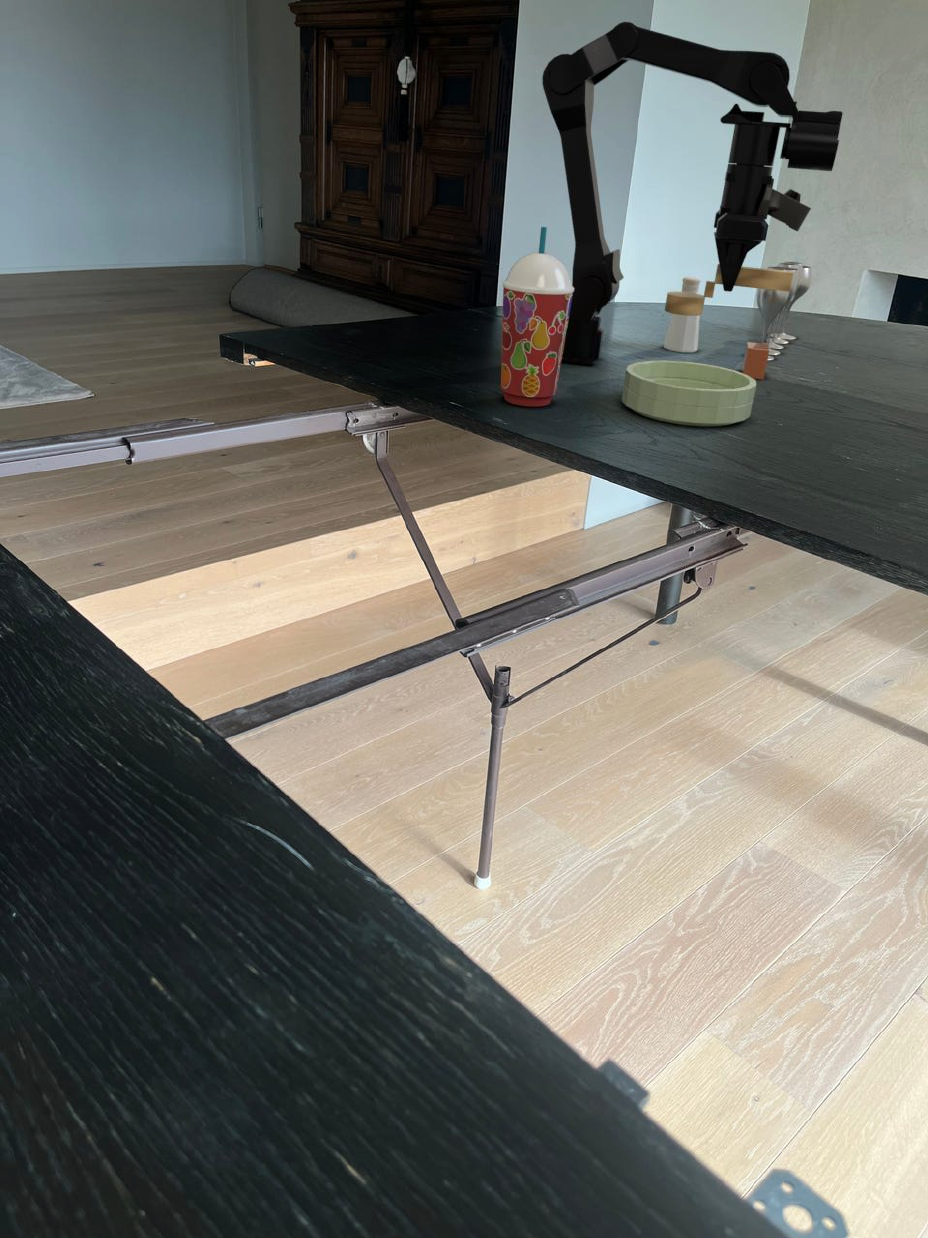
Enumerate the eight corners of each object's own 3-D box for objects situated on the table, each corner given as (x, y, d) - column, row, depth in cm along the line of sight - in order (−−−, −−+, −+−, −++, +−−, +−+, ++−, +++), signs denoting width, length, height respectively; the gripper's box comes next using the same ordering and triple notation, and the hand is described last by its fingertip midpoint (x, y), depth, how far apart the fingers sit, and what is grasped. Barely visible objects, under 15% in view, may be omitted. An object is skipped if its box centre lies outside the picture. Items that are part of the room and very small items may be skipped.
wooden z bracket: (664, 312, 133) (672, 261, 129) (665, 307, 137) (673, 257, 134) (783, 326, 130) (794, 274, 127) (780, 320, 135) (791, 269, 131)
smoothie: (568, 398, 120) (587, 228, 111) (551, 414, 113) (571, 233, 104) (504, 389, 123) (519, 221, 113) (484, 403, 115) (498, 225, 106)
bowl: (615, 418, 113) (621, 380, 111) (627, 389, 127) (632, 355, 125) (750, 435, 111) (758, 396, 109) (747, 404, 124) (754, 369, 122)
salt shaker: (682, 353, 152) (694, 280, 147) (656, 346, 155) (667, 275, 150) (704, 351, 155) (716, 279, 150) (678, 344, 158) (689, 274, 153)
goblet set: (775, 362, 150) (794, 273, 144) (738, 356, 152) (756, 269, 146) (800, 336, 173) (818, 259, 167) (768, 332, 175) (784, 255, 169)
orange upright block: (742, 377, 139) (748, 347, 137) (741, 370, 143) (747, 341, 141) (763, 379, 138) (769, 350, 136) (762, 372, 143) (768, 344, 141)
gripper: (822, 171, 115) (793, 305, 122) (806, 168, 132) (782, 287, 139) (728, 164, 117) (705, 297, 124) (724, 162, 133) (704, 279, 141)
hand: (727, 290), depth 132 cm, fingers closed on wooden z bracket
